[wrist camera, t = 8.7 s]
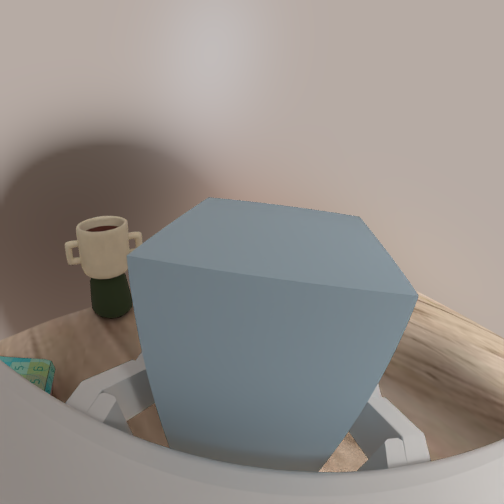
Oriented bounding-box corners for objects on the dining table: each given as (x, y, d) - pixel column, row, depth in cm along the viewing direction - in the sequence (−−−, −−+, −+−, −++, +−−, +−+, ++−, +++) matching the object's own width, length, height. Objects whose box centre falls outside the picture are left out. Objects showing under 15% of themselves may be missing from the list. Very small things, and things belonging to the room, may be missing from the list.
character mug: (142, 290, 42) (136, 211, 37) (153, 315, 36) (147, 226, 31) (78, 302, 36) (64, 221, 31) (80, 329, 31) (60, 238, 26)
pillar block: (296, 427, 13) (359, 216, 9) (289, 503, 9) (418, 296, 4) (209, 413, 14) (208, 197, 9) (185, 486, 9) (127, 255, 4)
